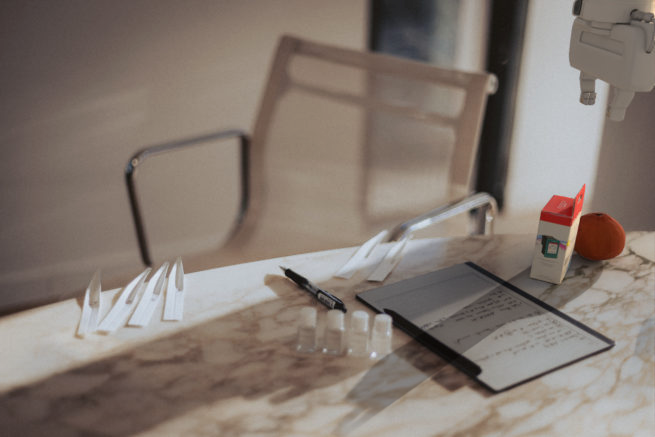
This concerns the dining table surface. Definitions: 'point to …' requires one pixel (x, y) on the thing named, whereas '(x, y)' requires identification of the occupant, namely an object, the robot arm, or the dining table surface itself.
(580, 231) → the fruit
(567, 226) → the ink box
